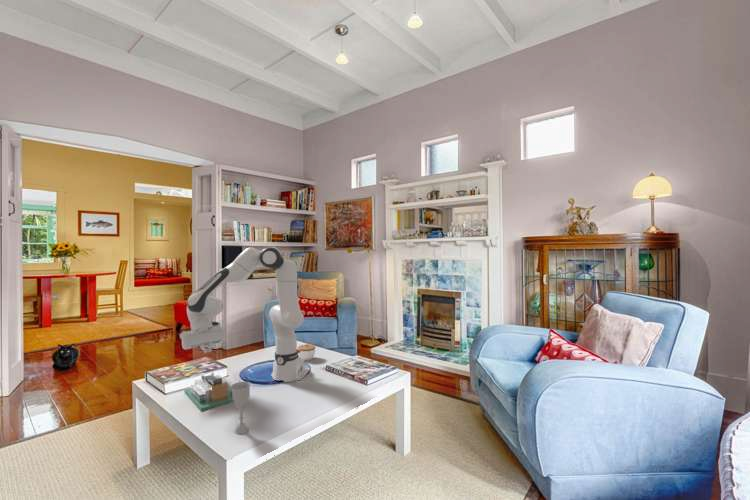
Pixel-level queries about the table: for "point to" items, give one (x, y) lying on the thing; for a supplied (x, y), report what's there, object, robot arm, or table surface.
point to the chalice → (241, 402)
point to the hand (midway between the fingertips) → (208, 352)
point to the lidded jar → (307, 351)
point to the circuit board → (207, 405)
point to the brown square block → (219, 391)
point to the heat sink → (206, 388)
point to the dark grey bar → (213, 379)
